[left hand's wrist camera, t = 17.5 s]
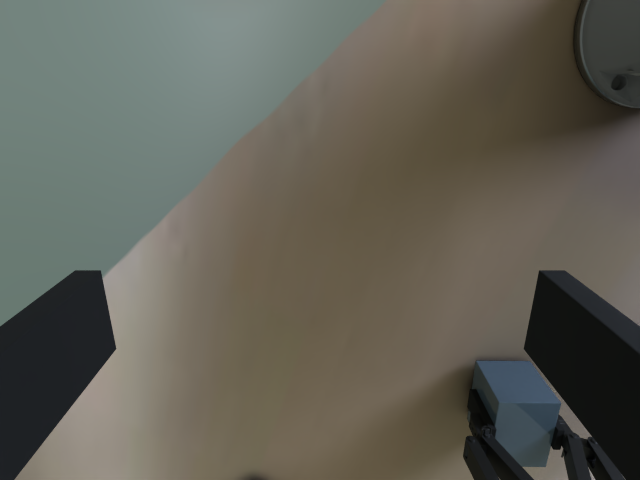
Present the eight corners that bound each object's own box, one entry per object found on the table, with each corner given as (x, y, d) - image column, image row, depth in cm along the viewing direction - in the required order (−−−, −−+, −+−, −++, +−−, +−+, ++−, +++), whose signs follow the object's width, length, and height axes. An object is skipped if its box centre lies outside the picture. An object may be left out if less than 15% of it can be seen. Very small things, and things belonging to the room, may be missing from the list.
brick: (466, 418, 55) (487, 466, 48) (475, 360, 52) (498, 402, 45) (518, 419, 54) (545, 467, 48) (529, 360, 51) (561, 403, 44)
